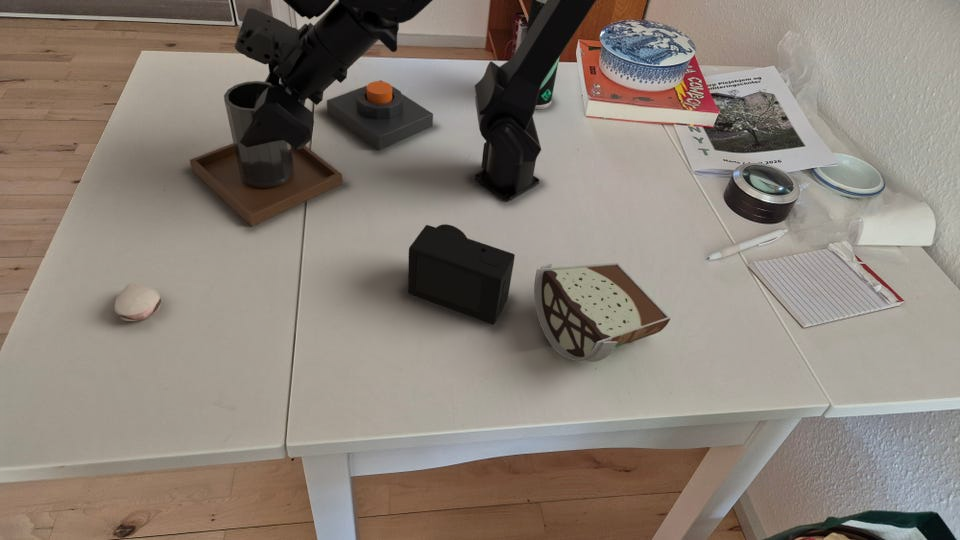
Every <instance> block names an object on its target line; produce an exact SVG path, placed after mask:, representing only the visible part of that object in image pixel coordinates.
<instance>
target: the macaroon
mask: <svg viewBox="0 0 960 540" xmlns="http://www.w3.org/2000/svg"><path fill="white" fill-rule="evenodd" d="M161 304H162V299H161V295H160V293H159V292H158V291H157V290H156V289H154V288H152V287H150V286H147V285H142V284H141V285H140V284H133V283H129V284H127V285H126V286H124V288H123V289H122V290H121V292H120V293H119V294H118V295H117V297H116V299H115V302H114V306H113V309H114V312H115V314H116V315H117V317H118V318H119V319H121V320H123V321H127V322H137V321H140V320H145V319H147V318H148V317H150V316H153V315H154V314H155V313H157V312H158V310H159V309H160V308H161Z"/></svg>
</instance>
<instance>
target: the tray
mask: <svg viewBox="0 0 960 540" xmlns="http://www.w3.org/2000/svg"><path fill="white" fill-rule="evenodd" d="M291 151H292V158H293V165H294V173H293V175H292V177H291V178H290V179H289V180H288V181H287V182H285V183H283V184H281V185H278V186H275V187H268V188H260V187H254V186H251V185H249V184H247V183H245V182H244V181H243V180H242V178H241V175H240V172H239V167H238V162H237V157H236V153H235V148H234V143H233V142H232V143H229V144H227V145H225V146H222V147H220V148H217V149H214V150H212V151H209V152H207V153H204V154H201V155H198V156H195V157H193V158H191V159H189V164H190V168H191V171H192V172H193V173H194V174H195V175H196V176H197V177H198V178H199V179H201V181H202V182H204V183H205V184H206V185H207V186H208V187H209V188H210V189H211V190H212V191H213V192H214V193H215V194H216V195H217V196H218V197H219V198H220V199H222V200H223V202H225V203H226V204H227V205H228V206H229V207H230V208H231V209H232V210H233V211H235V212H236V213H237V214H238V216H240V217H241V218H242V219H243V220H244V221H245V222H246V223H247V224H248V225H250V227H254V226H256V225H257V226H258V225H259V224H260V223H263V222H266V221H267V220H270V219H272V218H274V217H276V216H278V215H280V214H283V213H284V212H286V211H289V210H291V209H294V208H296V207H298V206H299V205H302V204H304V203H306V202H308V201H310V200H313V199H315V198H317V197H319V196H321V195H324V194H325V193H328V192H330V191H332V190H335V189H336V188H339V187H340V186H343V184H344V182H343V174H342V173H341V172H340V171H339V170H337V168H336V167H334V166H332V165H331V164H330V163H328V162H327V161H326V160H325V159H324V158H322V157H321V156H320V155H318V154H317V153H316V152H314V150H311V149H310V148H309V147H308V146H307V145H305V146H304V147H302V148H301V149H295V148H294V147H292V146H291Z"/></svg>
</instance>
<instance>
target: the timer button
mask: <svg viewBox="0 0 960 540" xmlns="http://www.w3.org/2000/svg"><path fill="white" fill-rule="evenodd" d="M366 86H367V87H366V89H367V100H368V101H369V102H372V103H377V104H383V103H388V102H390V101H392V87H393V86H392V84H390V83H389V82H387V81H383V80H381V81H380V80H377V81H376V80H375V81H372V82H370V83H368V84H367V85H366Z"/></svg>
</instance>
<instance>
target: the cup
mask: <svg viewBox="0 0 960 540" xmlns="http://www.w3.org/2000/svg"><path fill="white" fill-rule="evenodd" d="M268 87H278V86H277V85H274V84H272V83H269V82H265V81H263V80H262V81H260V80H253V81H244V82H240V83H238V84H234V85H233V86H231V87H230V88H228V89H226V91H225V92H224V95H223V100H224V105H225V110H226V114H227V118H228V124H229V129H230V133H231V138H232V143H234V148H235V153H236V157H237V162H238V167H239V172H240V175H241V178H242V180H243V181H244V182H245V183H247V184H249V185H251V186H254V187H260V188H268V187H275V186H278V185H281V184H283V183H285V182H287V181H288V180H289V179H290V178H291V177H292V175H293V173H294V165H293V158H292V151H291V145H290V144H288V143H287V142H286V141H284V140H281V141H274V142H270V143H265V144H260V145H256V146H251V147H245V146H244V145H243V144H241V143H240V139H241V138H242V136H243V135H244V133H245V132H246V130H247V129H248V127H249V126H250V124H251V123H252V122H253V120H254V119H255V116H254V114H253V113H254V105H255V102H256V98H257V95H258V94H259V95H261V94H262V93H263V92H264V91H265V90H266V89H267V88H268Z"/></svg>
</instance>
